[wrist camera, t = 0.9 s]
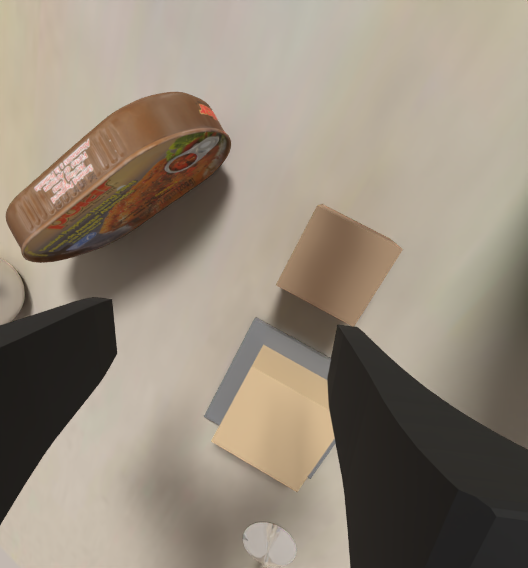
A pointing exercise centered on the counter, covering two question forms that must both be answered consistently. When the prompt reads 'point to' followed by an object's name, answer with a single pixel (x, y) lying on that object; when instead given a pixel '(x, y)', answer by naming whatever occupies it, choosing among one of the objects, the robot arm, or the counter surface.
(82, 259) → the counter surface
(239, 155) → the counter surface
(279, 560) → the wineglass
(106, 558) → the counter surface
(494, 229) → the counter surface
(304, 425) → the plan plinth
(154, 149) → the tin
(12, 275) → the plastic bottle
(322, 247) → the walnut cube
